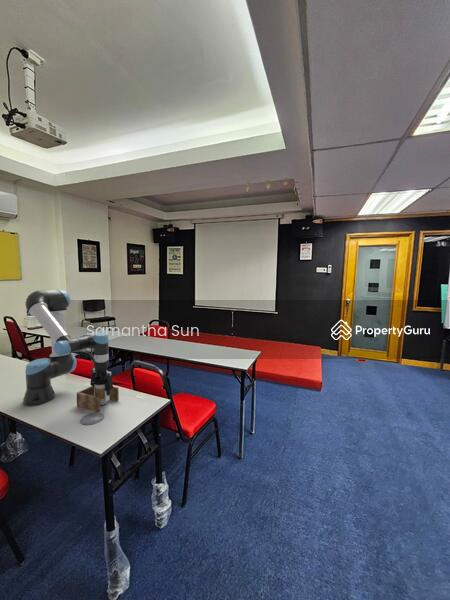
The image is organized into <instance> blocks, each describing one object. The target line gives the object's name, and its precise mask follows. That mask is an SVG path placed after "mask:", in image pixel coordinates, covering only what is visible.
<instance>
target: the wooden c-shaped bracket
mask: <svg viewBox="0 0 450 600" xmlns="http://www.w3.org/2000/svg"><path fill="white" fill-rule="evenodd" d="M119 393H120V392H119V387H118V386H115V385H113V389H111V390H110V400H111V401H115V402H118V401H119V400H120V398H119ZM100 406H101V405H100V403H99V397H96V396H94V391H93V386H91V385H90V386H89V387H86V388H84V389H82V390H80V391H78V392H76V407H78V408H81V409H85V410H88V411H92V412H100V409H101V408H100ZM100 413H101V412H100Z"/></svg>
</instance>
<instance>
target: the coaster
mask: <svg viewBox="0 0 450 600" xmlns="http://www.w3.org/2000/svg"><path fill="white" fill-rule="evenodd" d="M104 418H105V414H104V413H103V412H95V411H93V412H89V413H87V414H85V415H83V416H81V418H80V421H79V422H80V424H81V425H84V426H90V425H95V424H98V423H100V422H101V421H103V420H104Z"/></svg>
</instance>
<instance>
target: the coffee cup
mask: <svg viewBox="0 0 450 600" xmlns="http://www.w3.org/2000/svg"><path fill="white" fill-rule="evenodd" d="M104 377H105V376H104ZM105 382H106V383H107V378H106V379H102V378H101V377H100V378H99V379H97V380H96V378H95V379H94V389H95V396H96V397H99V403H100V406H102V405H106V404H107V403H108V401H106V402H105V390H106V388H105Z"/></svg>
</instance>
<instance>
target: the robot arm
mask: <svg viewBox="0 0 450 600" xmlns="http://www.w3.org/2000/svg"><path fill="white" fill-rule="evenodd" d="M70 305H71V298H70V295H69V294H68V292H67V291H65V290H62V289H47V290H46V289H45V290H41V289H40V290H34V291H33V292H31V293H30V294H29V295H28V296H27V297H26V299H25V309H26V311H27V313H28V314H29V315H31V316H34V318H35V319H36V320H37V321H38V323H39V325H40V326H41V327H42V328H43V329H44V331H45V332H46V333H47V334H48V336H49V337H50V342H51V343H50V344H51V353H50V354H49V358H47V357H43V358H38V359H34V360H31V361H29V362H28V363H27V364H26V366H25V372H24V373H25V381H26V383H25V384H26V390H25V393H24V396H23V398H22V402H23V404H24V405H25V406H29V407H30V406H39V405H43V404H46V403H48V402H50V401H53V399H54V398H55V397H56V396H55V395H56V394H55V391H54V388H53V386H52V385H51V384H52V381H51V380H52V379H55V378H58V377H61V376H63V375H67V374H69V373H72V372H74V370H75V369H76V367H77V358H76V356H75V355H74V354H73V353H76V352H80V351H83V350H84V351H85V350H87V349H90V350H93V368H92V369H90V373H91V374H90V386H93V391H94V396H95V389H94V379H95V378H96V380H97V379H99V378H100V377H101V378H102V379H106V378H107V383H106V382H105V388H106V390H105V402H106V401H107V402H109V400H111V399H110V390H111V389H113V386H114V381H113V371H109V368H108V367H109V363H110V361H109V355H110V354H109V353H110V352H109V340H110V339H109V335H108V333H106V332H105V333H104V332H100V333H99V332H98V333H95V334H93V335H92V334H87V333H85V334H81V335H80V336H78V337H74V338H72V337H71V336H70V335H69V333H68V332H67V323H66V315H65V313H66V312H68V309H67V308H69V307H70ZM104 376H105V377H104Z"/></svg>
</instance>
